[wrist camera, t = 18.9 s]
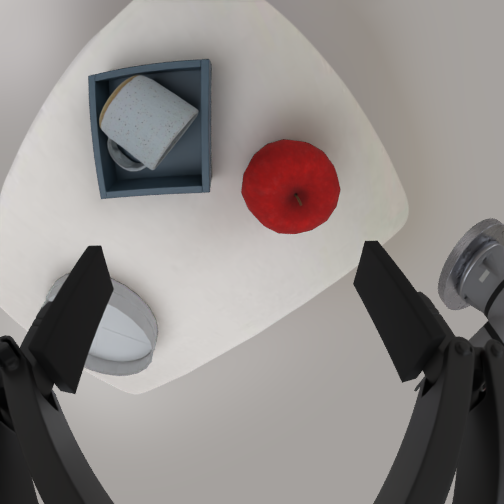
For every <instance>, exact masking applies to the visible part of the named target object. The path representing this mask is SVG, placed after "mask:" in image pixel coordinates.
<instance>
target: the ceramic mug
mask: <svg viewBox="0 0 504 504" xmlns="http://www.w3.org/2000/svg"><path fill="white" fill-rule="evenodd" d="M198 112H199V111H198V109H196V108H195V107H193V106H192V105H190V104H189V103H187V102H186V101H184V100H183V99H181V98H180V97H179V96H177V95H176V94H174V93H173V92H171V91H169V90H168V89H166V88H165V87H163V86H162V85H160V84H158V83H157V82H155V81H154V80H152V79H150V78H147V77H145V76H142V75H135V76H132V77H130V78H128V79H127V80H125V81H124V82H122V83H121V84H120V85H119V86H118V87H117V88H116V89H115V90H114V92H113V93H112V94H111V96H110V97H109V98H108V100H107V101H106V103H105V105H104V107H103V109H102V111H101V114H100V117H99V125H100V128H101V129H102V131H103V132H104V133H105V134H106V135H107V136H108V141H107V147H108V151H109V153H110V155H111V157H112V159H113V160H114V161H115V162H116V163H117V164H118V165H119V166H120V167H122V168H123V169H125V170H128V171H139V170H142V169H144V168H146V167H148V168H149V169H151V170H155V169H156V168H157V166H158V165H159V164H160V163H161V162H162V160H163V159H164V158H165V157H166V156H167V154H168V153H169V152H170V150H171V149H172V148H173V147H174V145H175V144H176V143H177V141H178V140H179V139H180V138H181V137H182V135H183V134H184V133H185V131H186V130H187V129H188V127H189V126H190V125H191V123H192V122H193V121H194V119H195V118H196V117H197V115H198ZM117 144H119V145H120V146H122V147H123V148H124V149H125V150H127V151H128V152H129V153H130V154H131V155H133V156H134V157H135V158H136V159H138V160H139V161H140V162H142V163H136V162H133V161H131V160H130V159H129V158H127V157H126V156H125V155H124V154H123V153H122V152H121V151H120V150H119V149H118V147H117Z"/></svg>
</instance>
